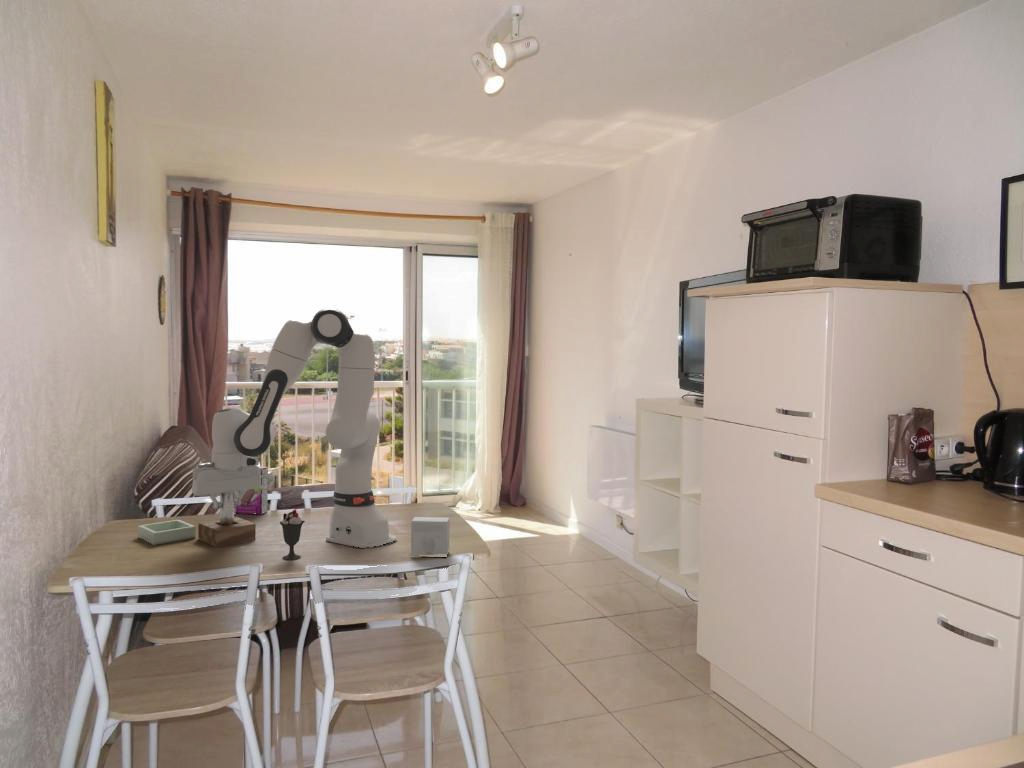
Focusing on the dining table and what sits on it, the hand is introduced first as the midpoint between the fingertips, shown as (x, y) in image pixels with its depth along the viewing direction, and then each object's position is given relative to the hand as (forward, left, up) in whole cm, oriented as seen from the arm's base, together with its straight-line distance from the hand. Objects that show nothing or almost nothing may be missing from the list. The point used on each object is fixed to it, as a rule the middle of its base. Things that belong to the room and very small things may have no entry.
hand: (227, 506), depth 213 cm
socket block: (0, 0, -10) cm, 10 cm away
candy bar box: (+28, -22, -10) cm, 37 cm away
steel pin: (0, 0, -10) cm, 10 cm away
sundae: (-30, -4, -10) cm, 32 cm away
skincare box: (-54, -34, -10) cm, 65 cm away
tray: (+14, +12, -10) cm, 21 cm away
